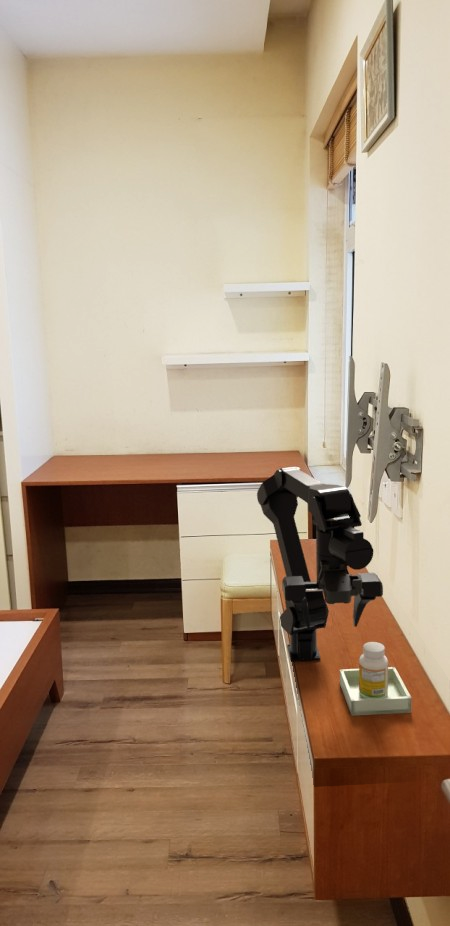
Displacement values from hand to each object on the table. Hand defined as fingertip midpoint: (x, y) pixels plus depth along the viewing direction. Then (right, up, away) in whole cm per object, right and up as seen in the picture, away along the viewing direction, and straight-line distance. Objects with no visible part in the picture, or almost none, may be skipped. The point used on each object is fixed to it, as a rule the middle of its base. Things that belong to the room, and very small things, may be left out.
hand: (331, 627), depth 130 cm
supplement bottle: (+7, -12, -3) cm, 15 cm away
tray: (+8, -13, -3) cm, 15 cm away
